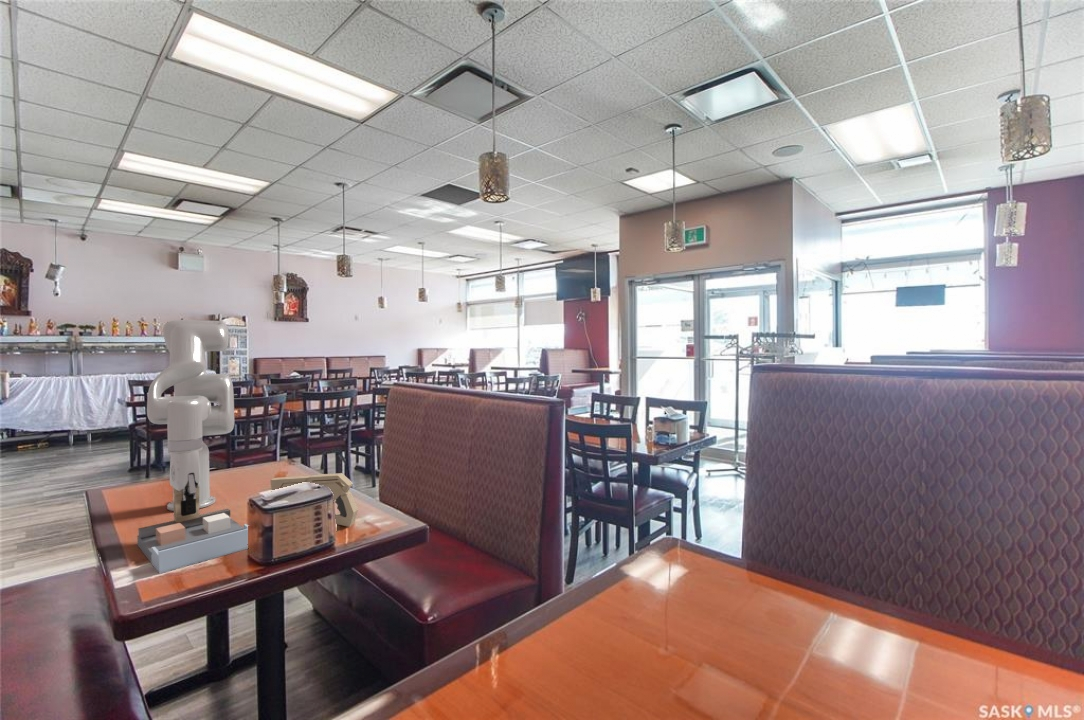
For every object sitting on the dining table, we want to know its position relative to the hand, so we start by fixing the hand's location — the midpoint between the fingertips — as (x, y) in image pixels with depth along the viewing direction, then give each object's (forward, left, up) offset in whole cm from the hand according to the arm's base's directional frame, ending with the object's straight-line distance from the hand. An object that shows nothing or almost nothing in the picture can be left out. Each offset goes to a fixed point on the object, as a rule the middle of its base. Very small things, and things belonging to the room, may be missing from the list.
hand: (186, 512), depth 131 cm
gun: (+16, +27, -7) cm, 32 cm away
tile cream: (+7, +5, -4) cm, 9 cm away
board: (+5, 0, -7) cm, 8 cm away
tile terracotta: (+7, -5, -4) cm, 9 cm away
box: (+17, 0, -7) cm, 18 cm away
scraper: (0, 0, -4) cm, 4 cm away
